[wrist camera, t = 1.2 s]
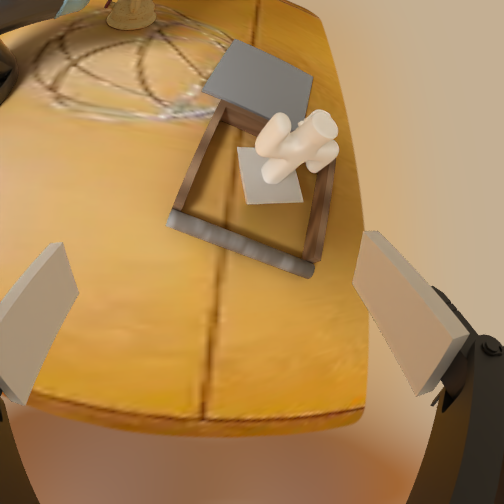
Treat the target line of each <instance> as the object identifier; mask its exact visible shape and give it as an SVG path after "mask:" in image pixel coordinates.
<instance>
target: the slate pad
mask: <svg viewBox="0 0 504 504" xmlns="http://www.w3.org/2000/svg"><path fill="white" fill-rule="evenodd" d="M312 81H313V77H312V76H311V75H309V74H307V73H305V72H303V71H302V70H300V69H298V68H296V67H294V66H292V65H290V64H288V63H287V62H285V61H283V60H281V59H279V58H277V57H275V56H273V55H270V54H268V53H266V52H264V51H262V50H260V49H258V48H255V47H253V46H251V45H249V44H246V43H244V42H242V41H239V40H237V39H234V41H233V42H232V44H231V45H230V47H229V48H228V50H227V51H226V53H225V54H224V56H223V57H222V59H221V60H220V62H219V63H218V65H217V67H216V68H215V70H214V71H213V73H212V74H211V76H210V78H209V79H208V81H207V83H206V84H205V86H204V88H203V89H202V92H204V93H207V94H209V95H212V96H214V97H216V98H219V99H222V100H225V101H227V102H229V103H232V104H234V105H236V106H239V107H241V108H243V109H245V110H248V111H250V112H252V113H254V114H256V115H258V116H260V117H263V118H265V119H267V120H270V119H271V118H272V117H273V116H274V115H275V114H276V113H279V112H281V113H284V114H286V115H287V116H288V117H289V119H290V121H291V132H293V131H295V130H296V128H297V127H299V126H298V123H299V122H300V121H304V118H305V114H306V110H307V105H308V100H309V95H310V90H311V85H312Z"/></svg>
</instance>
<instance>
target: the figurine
mask: <svg viewBox="0 0 504 504" xmlns="http://www.w3.org/2000/svg"><path fill="white" fill-rule="evenodd" d="M298 126H299V127H297V128H296V130H295V131H293V132H291V133H290V131H291V121H290V119H289V117H288V116H287V115H286V114H284V113H281V112H279V113H276V114H275V115H274V116H273V117H272V118H271V119H270V120H269V122H268V123H267V124H266V126H265V127H264V128H263V129H262V131H261V132H260V133H259V135H258V137H257V139H256V142H255V148H252V147H237V151H238V159H239V168H240V175H241V180H242V185H243V190H244V195H245V201H246V203H247V204H270V203H297V202H304V201H303V197H302V193H301V189H300V185H299V181H298V177H297V173H296V168H297V167H298V166H300V165H301V164H302V163H304V162H306V166H307V168H308V170H309V171H310V172H312V173H317V172H318V171H320V170H321V169H322V168H324V167H325V166H326V165H328V164H329V163H330V162H332V161H333V160H334V159H335V158H336V157H337V155H338V153H339V146H338V144H337V142H336V141H334V140H333V139H334V138H335V137H336V136H337V135H338V127H337V125H336V123H335V122H334V120H333V119H332V118H331V115H330V114H329V113H328V112H326V111H324V110H320V109H318V110H315V111H313V112H312V113H311V114H310V115H309V116H308V117H307V118H304V121H300V122H299V123H298Z"/></svg>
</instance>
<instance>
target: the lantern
mask: <svg viewBox="0 0 504 504" xmlns="http://www.w3.org/2000/svg"><path fill="white" fill-rule="evenodd" d="M108 7H109V8H112V10H111V13H110V14H109V15H108V17H107V19H106V22H107V24H108V25H109V26H111V27H113V28H116V29H121V30H135V29H141V28H145V27H147V26H149V25H150V24H152V23H153V22H154V21H155V20H156V13H155V12H154V8H155V5H154V3H153V1H152V0H118V1H117V2H116V3H115V2H112V0H108V1H107V3H106V5H105V7H104V8H108Z"/></svg>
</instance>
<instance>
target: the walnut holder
mask: <svg viewBox="0 0 504 504" xmlns="http://www.w3.org/2000/svg"><path fill="white" fill-rule="evenodd" d="M219 120H221V121H223V122H225V123H228V124H230V125H232V126H235V127H237V128H239V129H241V130H244V131H246V132H248V133H250V134H252V135H255V136H257V137H258V135H259V133H260V132H261V131H262V129H263V128H264V127H265V126H266V124H267V123H268V122H269V120H267V119H265V118H263V117H260V116H258V115H256V114H254V113H252V112H250V111H248V110H245V109H243V108H241V107H239V106H236V105H234V104H232V103H229V102H227V101H225V100H222V99H221V101H220V103H219V105H218V106H217V108H216V110H215V113H214V115H213V117H212V119H211V121H210V123H209V125H208V127H207V129H206V131H205V133H204V135H203V137H202V140H201V142H200V144H199V146H198V148H197V151H196V153H195V155H194V157H193V159H192V162H191V164H190V166H189V169H188V171H187V173H186V176H185V178H184V180H183V183H182V185H181V187H180V190H179V192H178V195H177V197H176V200H175V202H174V205H173V208H172V210H171V213H170V215H169V218H168V220H167V223H166V226H167V227H170V228H173V229H175V230H178V231H180V232H183V233H186V234H188V235H191V236H194V237H196V238H199V239H202V240H204V241H207V242H210V243H212V244H215V245H218V246H220V247H223V248H226V249H228V250H231V251H234V252H236V253H239V254H242V255H244V256H247V257H250V258H253V259H255V260H258V261H261V262H263V263H266V264H269V265H271V266H274V267H277V268H279V269H282V270H285V271H288V272H290V273H293V274H296V275H298V276H301V277H304V278H306V279H309V278H311V277H312V275H313V273H314V270H315V266H314V264H313V263H315V262H318V261H321V256H322V251H323V245H324V239H325V233H326V227H327V221H328V214H329V208H330V201H331V194H332V187H333V179H334V172H335V164H336V158H335V159H334V160H333V161H332V162H330V163H329V164H328V165H326V166H325V167H324V168H322V169H321V170H320V171H318V173H317V179H316V185H315V191H314V197H313V202H312V208H311V213H310V218H309V224H308V229H307V234H306V239H305V244H304V249H303V254H302V259H300V258H298V257H295V256H293V255H290V254H288V253H285V252H283V251H280V250H278V249H275V248H272V247H270V246H267V245H265V244H262V243H260V242H257V241H255V240H252V239H250V238H247V237H245V236H242V235H239V234H237V233H234V232H232V231H229V230H227V229H224V228H222V227H219V226H216V225H214V224H211V223H209V222H206V221H204V220H201V219H198V218H196V217H193V216H191V215H188V214H185V213H183V212H181V210H182V208H183V205H184V203H185V200H186V198H187V195H188V193H189V190H190V188H191V185H192V183H193V180H194V178H195V175H196V173H197V171H198V168H199V166H200V163H201V161H202V159H203V156H204V154H205V152H206V149H207V147H208V145H209V143H210V140H211V138H212V136H213V134H214V131H215V129H216V127H217V125H218V123H219ZM290 133H291V131H290Z"/></svg>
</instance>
